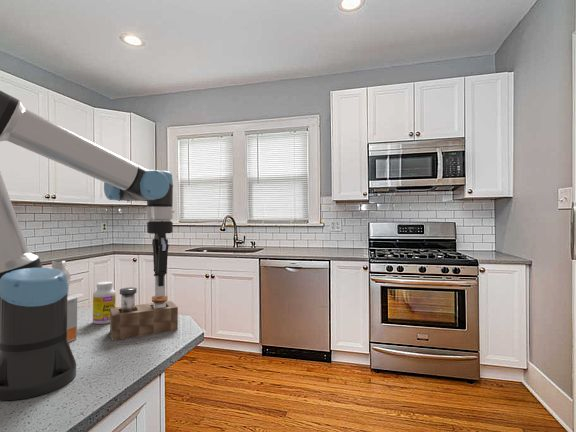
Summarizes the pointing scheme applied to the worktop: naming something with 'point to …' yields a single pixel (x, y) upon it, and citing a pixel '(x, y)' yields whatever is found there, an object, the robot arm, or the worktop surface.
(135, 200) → the robot arm
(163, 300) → the rust plunger
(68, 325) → the skincare box
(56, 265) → the plastic bottle
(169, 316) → the walnut block
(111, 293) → the supplement bottle
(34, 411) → the worktop surface
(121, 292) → the charcoal plunger
